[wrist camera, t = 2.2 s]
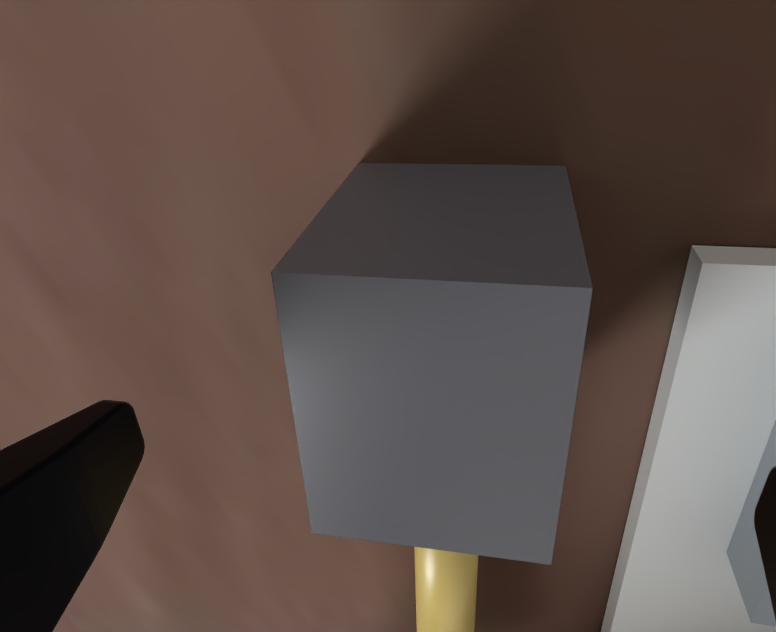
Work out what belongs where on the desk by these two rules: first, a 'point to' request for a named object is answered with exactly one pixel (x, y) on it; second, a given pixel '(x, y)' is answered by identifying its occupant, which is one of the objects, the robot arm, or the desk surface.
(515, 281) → the plug
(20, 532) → the robot arm
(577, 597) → the desk surface
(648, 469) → the board
